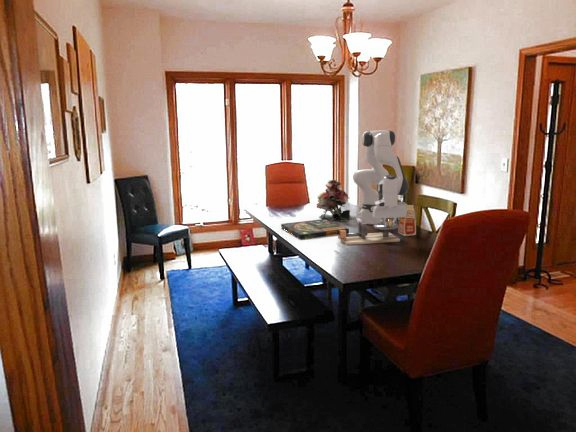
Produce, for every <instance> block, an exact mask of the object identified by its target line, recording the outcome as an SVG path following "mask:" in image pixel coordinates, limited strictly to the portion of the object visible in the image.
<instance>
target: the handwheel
mask: <svg viewBox="0 0 576 432" xmlns="http://www.w3.org/2000/svg"><path fill="white" fill-rule="evenodd" d="M387 222H388V225H385V222H384V221H383V222H381V223H376V224H373V228H374V229H377V230H382V231H383V230H389V231H392V230H393V231H394V230H398V228H399V224H397V223H394V225H392V222H393V218H387Z"/></svg>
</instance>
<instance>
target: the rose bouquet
mask: <svg viewBox="0 0 576 432" xmlns="http://www.w3.org/2000/svg"><path fill="white" fill-rule="evenodd" d="M325 186H326V189H325V191H323V192H321V193H320V194H319V195H318V196H317V204H316V208H317V209H322V210H323V212H322V213H323V214H321V215H319V217H318V218H319V219H327V220H329V221H332V222H338V219H337V218H339V219H341V222H345V223H349V222H350V217H351V211H350V209H346V210H343V211H342V207H343V208H345V205H346V204H347V203H348V199H349V195H348V193H347V192H345V191H344V190H343V187H342V182H339V181H337V179H331V180H328V181H327V183H325ZM339 206H340V207H339ZM327 212H330V213H331V214H327ZM336 219H337V220H336Z"/></svg>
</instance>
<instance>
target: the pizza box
mask: <svg viewBox="0 0 576 432" xmlns="http://www.w3.org/2000/svg"><path fill="white" fill-rule="evenodd" d="M280 226H281V227H282V228H283V229H282V228H281V227H280V228H281V229H282V230H284V229H285V230H287V231H288V232H287V231H286V232H287V233H289V232H290V233H289V234H291V233H292V234H293V236H294V235H295V236H294V237H296V238H297V237H298V238H297V239H299V238H300V239H299V240H305V238H306V239H312V238H321V237H330V236H338V235H339V230H345V231H346V233H350V229H349V228H348V227H345V226H343V225H342V224H338V223H336V222H335V221H329V220H327V219H321V218H319V219H313V220H303V221H297V222H296V221H295V222H286V223H280ZM285 230H284V231H285ZM292 234H291V235H292Z"/></svg>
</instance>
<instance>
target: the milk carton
mask: <svg viewBox="0 0 576 432" xmlns="http://www.w3.org/2000/svg"><path fill="white" fill-rule="evenodd" d="M406 211H407V216H406V217H401V218H399V222H398V228H397V230H398V231H397V234H400V235H402V236H403V237H409V236H416V235H417V223H416V214H415V213H416V212H415V208H414V205H413V204H407V208H406Z"/></svg>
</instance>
